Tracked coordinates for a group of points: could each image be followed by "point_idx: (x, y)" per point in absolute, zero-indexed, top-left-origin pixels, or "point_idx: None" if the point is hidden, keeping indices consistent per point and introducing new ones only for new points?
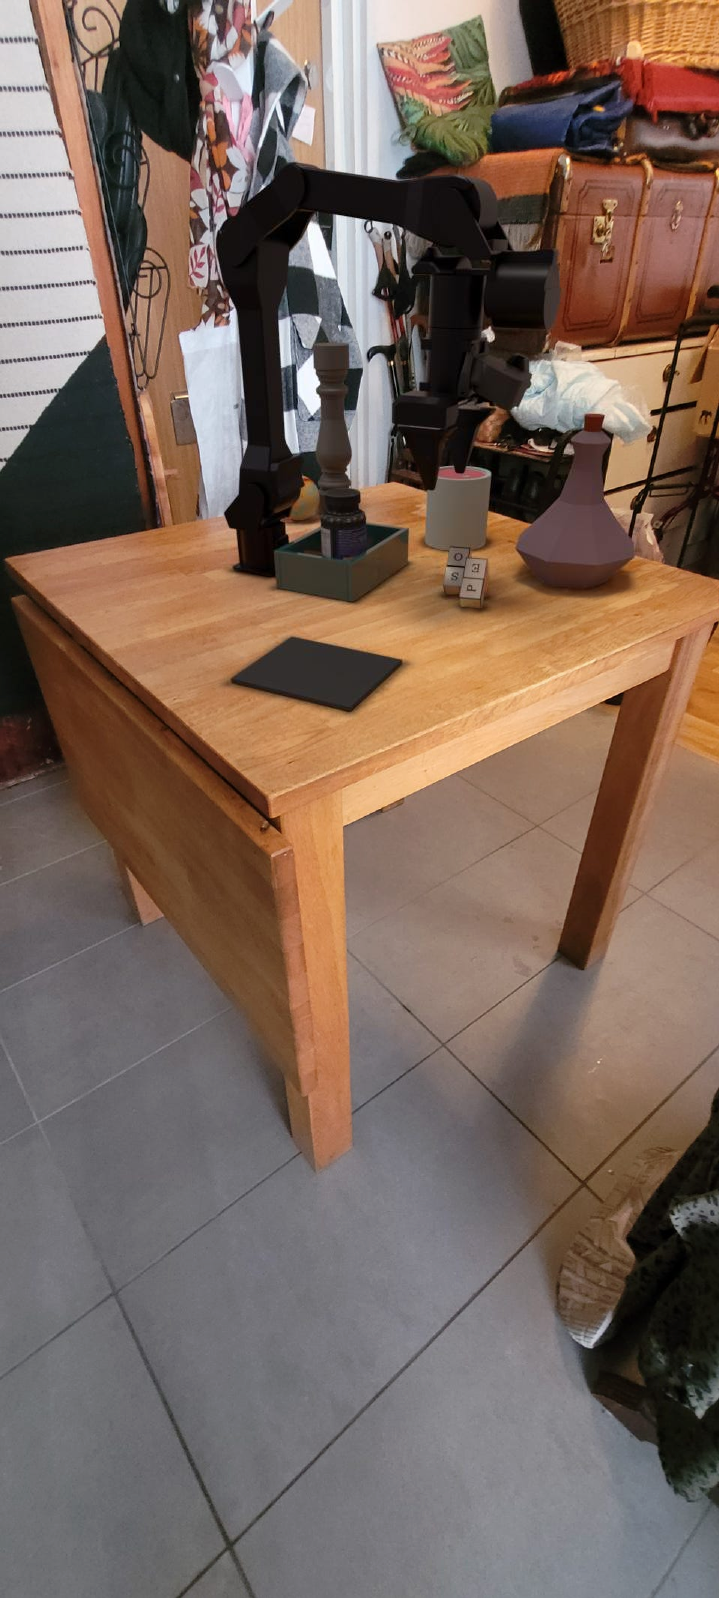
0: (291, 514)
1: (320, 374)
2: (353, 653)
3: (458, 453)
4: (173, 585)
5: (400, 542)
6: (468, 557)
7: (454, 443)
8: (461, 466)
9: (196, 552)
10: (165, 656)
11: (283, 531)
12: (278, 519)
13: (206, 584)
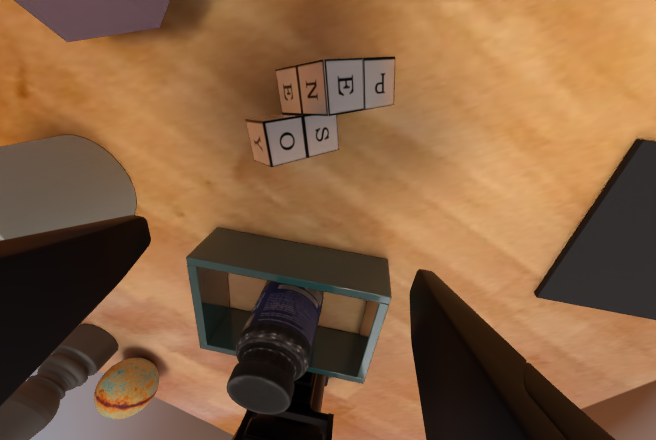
0: (158, 376)
1: None
2: (606, 216)
3: (89, 278)
4: (383, 411)
5: (225, 254)
6: (329, 110)
7: (51, 325)
8: (128, 235)
9: None
10: (581, 382)
11: None
12: None
13: (372, 391)
